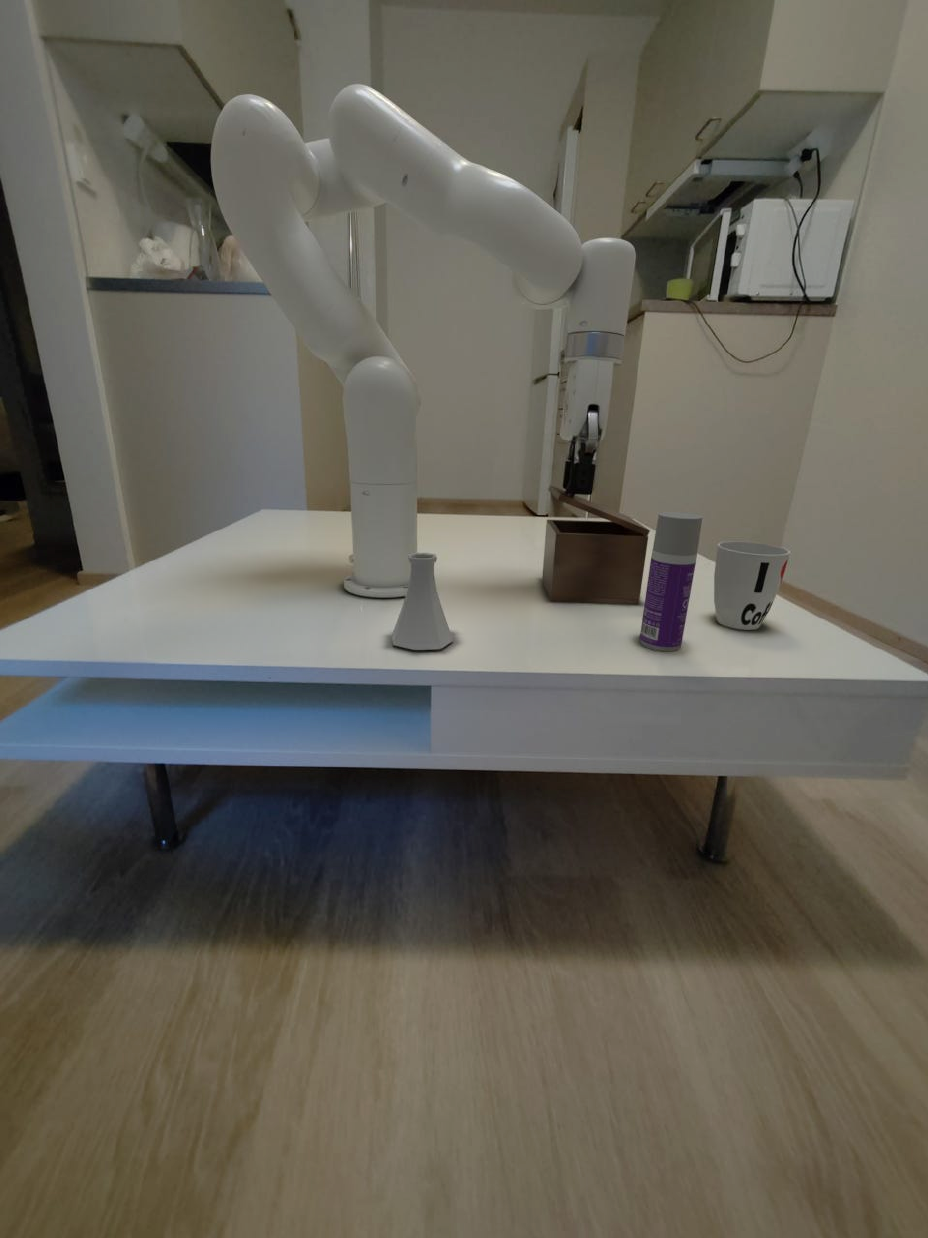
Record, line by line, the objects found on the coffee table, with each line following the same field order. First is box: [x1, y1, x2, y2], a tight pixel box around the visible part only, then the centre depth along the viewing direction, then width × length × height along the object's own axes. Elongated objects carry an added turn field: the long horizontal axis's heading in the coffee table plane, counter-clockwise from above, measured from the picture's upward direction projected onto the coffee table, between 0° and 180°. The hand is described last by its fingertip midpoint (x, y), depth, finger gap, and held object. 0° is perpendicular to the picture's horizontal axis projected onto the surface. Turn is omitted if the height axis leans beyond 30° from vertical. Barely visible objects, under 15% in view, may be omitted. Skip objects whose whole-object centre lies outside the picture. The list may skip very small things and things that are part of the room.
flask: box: [391, 552, 454, 651], centre depth 61 cm, size 7×7×10 cm
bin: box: [541, 519, 649, 605], centre depth 82 cm, size 13×12×10 cm
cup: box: [713, 541, 791, 631], centre depth 70 cm, size 8×8×10 cm
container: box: [638, 511, 703, 652], centre depth 61 cm, size 5×5×15 cm
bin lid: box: [548, 470, 651, 537], centre depth 79 cm, size 13×12×5 cm
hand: (576, 490), depth 78 cm, fingers closed on bin lid, 5 cm apart
